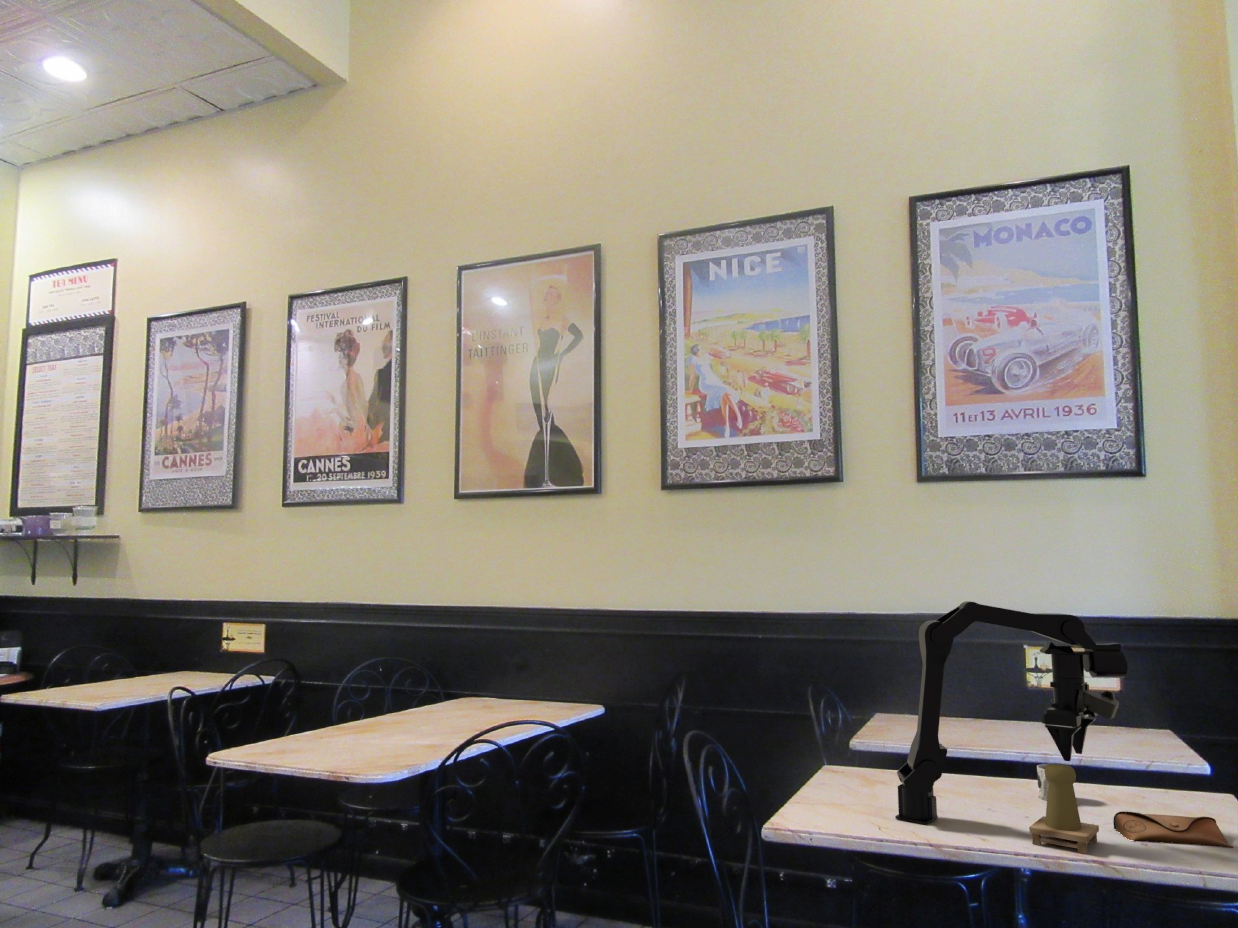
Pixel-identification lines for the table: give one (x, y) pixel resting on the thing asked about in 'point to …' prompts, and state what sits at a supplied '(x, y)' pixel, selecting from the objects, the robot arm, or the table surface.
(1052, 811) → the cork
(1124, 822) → the sunglasses case
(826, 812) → the table surface
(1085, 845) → the footstool
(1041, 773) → the mug
